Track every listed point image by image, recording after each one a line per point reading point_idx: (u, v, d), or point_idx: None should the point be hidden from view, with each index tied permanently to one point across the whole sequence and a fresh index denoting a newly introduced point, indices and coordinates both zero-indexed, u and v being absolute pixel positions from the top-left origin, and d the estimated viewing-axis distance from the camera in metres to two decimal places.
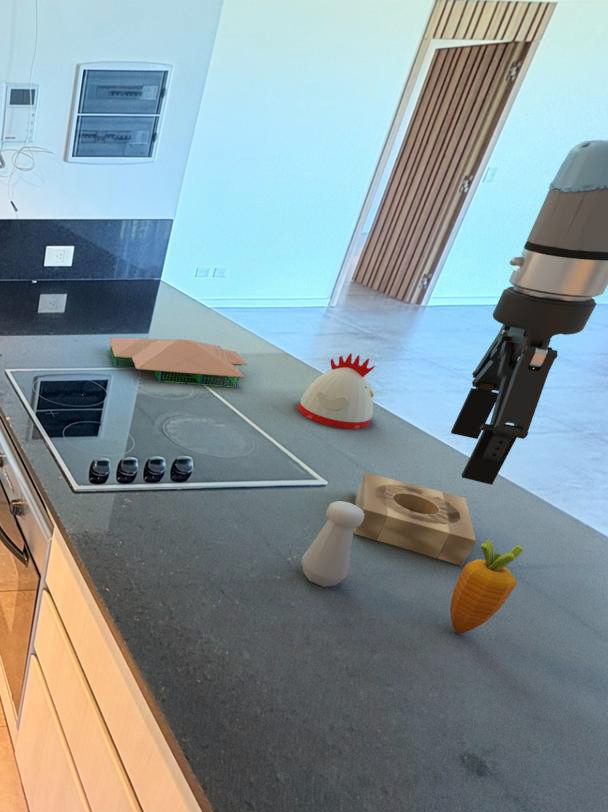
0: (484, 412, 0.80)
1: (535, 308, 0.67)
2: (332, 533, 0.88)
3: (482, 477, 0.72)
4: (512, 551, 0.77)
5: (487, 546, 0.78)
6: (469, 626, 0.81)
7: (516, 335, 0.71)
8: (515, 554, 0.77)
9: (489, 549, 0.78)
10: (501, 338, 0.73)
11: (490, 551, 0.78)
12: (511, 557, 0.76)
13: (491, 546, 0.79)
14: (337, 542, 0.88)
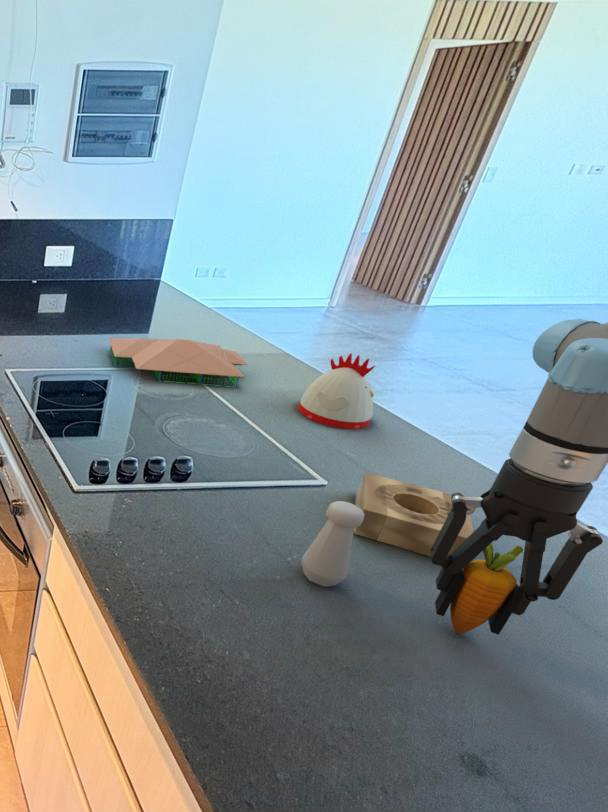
0: None
1: (588, 494, 0.70)
2: (332, 533, 0.88)
3: None
4: (512, 551, 0.77)
5: (487, 546, 0.78)
6: (469, 626, 0.81)
7: (534, 512, 0.73)
8: (515, 554, 0.77)
9: (489, 549, 0.78)
10: (515, 517, 0.74)
11: (490, 551, 0.78)
12: (511, 557, 0.76)
13: (491, 546, 0.79)
14: (337, 542, 0.88)
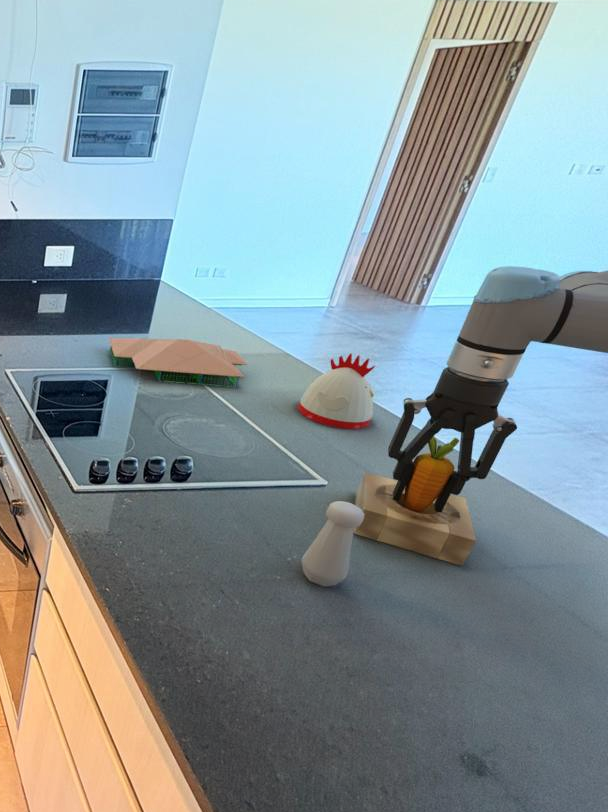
0: None
1: (505, 389, 0.89)
2: (332, 533, 0.88)
3: None
4: (450, 442, 0.97)
5: (431, 439, 0.97)
6: (418, 507, 1.01)
7: (465, 407, 0.93)
8: (452, 445, 0.96)
9: (433, 442, 0.97)
10: (451, 412, 0.94)
11: (433, 443, 0.97)
12: (449, 446, 0.96)
13: (435, 440, 0.98)
14: (337, 542, 0.88)
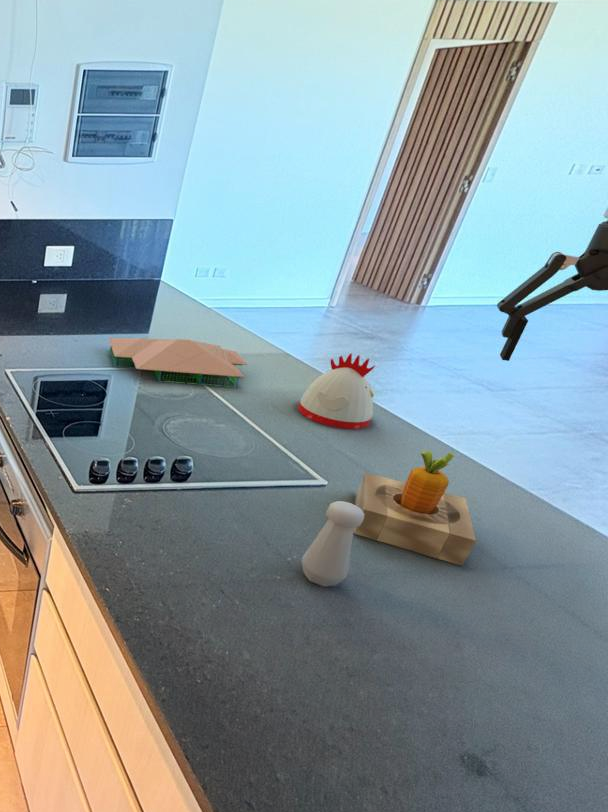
0: None
1: None
2: (332, 533, 0.88)
3: None
4: (445, 457, 0.98)
5: (425, 453, 0.98)
6: None
7: None
8: (447, 459, 0.97)
9: (427, 455, 0.98)
10: None
11: (428, 457, 0.98)
12: (443, 461, 0.97)
13: (430, 455, 0.99)
14: (337, 542, 0.88)
